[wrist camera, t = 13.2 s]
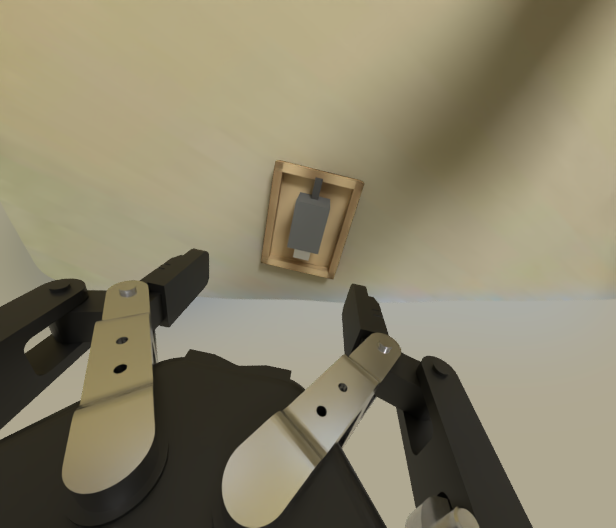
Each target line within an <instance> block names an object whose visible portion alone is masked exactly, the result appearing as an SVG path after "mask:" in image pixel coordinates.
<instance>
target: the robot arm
mask: <svg viewBox="0 0 616 528" xmlns="http://www.w3.org/2000/svg"><path fill="white" fill-rule="evenodd" d="M208 279H209V254H208V252H207V251H202V250H198V249H191V250H190V251H188V252H187V253H186V254H184V255H180V256H177V257H174V258H171V259H170V260H168V261H167V262H165V263H164V264H163V265H161V266H160V267H159V268H157V269H155V270H154V271H153V272H151V273H150V274H148V275H147V276H146V277H144V278H143V279H141V280H140V281H136V280H131V281H124V282H120V283H117V284H115V285H113V286H111V287H110V288H109V289H108V290H107V291H97V290H87V289H86V286H85V283H84V282H83V281H81V280H78V279H60V280H55V281H51V282H48V283H46V284H43V285H41V286H39V287H37V288H35V289H34V290H32V291H30V292H28V293H26V294H24V295H22V296H20V297H18V298H16V299H14V300H12V301H11V302H9V303H7V304H5V305H3V306H1V307H0V429H1V428H3V427H4V426H5V425H6V424H7V423H8V422H9V421H10V420H11V419H12V418H13V417H15V416H16V415H17V414H18V413H19V412H20V411H21V410H22V409H23V408H24V407H25V406H27V405H28V404H29V403H30V402H31V401H32V400H33V399H34V398H35V397H37V396H38V395H39V394H40V393H41V392H42V391H43V390H44V389H45V388H46V387H47V386H49V385H50V384H51V383H52V382H53V381H54V380H55V379H56V378H57V377H59V376H60V375H61V374H62V373H63V372H64V371H65V370H66V369H67V368H68V367H69V366H71V365H72V364H73V363H74V362H75V361H76V360H77V359H78V358H79V357H80V356H81V355H82V354H84V353H85V352H86V351H87V350H88V349H89V348H90V347H91V348H90V353H89V359H88V365H87V370H86V375H85V380H84V386H83V391H82V396H81V400H80V401H78V402H76V403H74V404H72V405H70V406H68V407H66V408H64V409H62V410H60V411H58V412H56V413H54V414H52V415H50V416H48V417H46V418H43V419H41V420H40V421H38V422H35V423H34V424H31V425H29V426H27V427H25V428H23V429H21V430H19V431H17V432H15V433H13V434H11V435H9V436H7V437H5V438H3V439H1V440H0V528H387V527H386V525H385V524H384V522H383V520H382V519H381V517H380V515H379V513H378V511H377V510H376V508H375V506H374V504H373V503H372V501H371V499H370V497H369V496H368V494H367V492H366V490H365V489H364V487H363V485H362V483H361V482H360V480H359V478H358V476H357V474H356V473H355V471H354V469H353V467H352V466H351V464H350V462H349V461H348V459H347V457H346V455H345V453H344V452H343V450H342V448H343V447H344V445H345V444H346V442H347V441H348V439H349V438H350V436H351V435H352V433H353V431H354V430H355V428H356V427H357V425H358V424H359V422H360V421H361V419H362V418H363V416H364V415H365V413H366V412H367V410H368V409H369V408H370V406H371V405H372V403H373V402H374V400H375V399H376V397H379V398H380V399H383V400H384V401H386V402H388V403H390V404H392V405H393V406H395V407H396V409H397V414H398V419H399V424H400V429H401V434H402V440H403V445H404V450H405V455H406V460H407V465H408V470H409V475H410V481H411V485H412V491H413V496H414V501H415V506H416V509H415V510H414V511H413V512H412V513H411V514H410V515H409V516H408V518H407V521H406V525H405V528H533V527H532V525H531V523H530V521H529V519H528V517H527V515H526V513H525V511H524V509H523V507H522V505H521V503H520V501H519V499H518V497H517V495H516V493H515V491H514V489H513V487H512V485H511V483H510V481H509V479H508V477H507V475H506V473H505V471H504V469H503V467H502V465H501V463H500V460H499V458H498V456H497V454H496V453H495V450H494V448H493V446H492V445H491V442H490V440H489V438H488V436H487V434H486V432H485V430H484V428H483V426H482V424H481V422H480V420H479V418H478V416H477V414H476V412H475V410H474V408H473V406H472V404H471V402H470V400H469V398H468V396H467V394H466V392H465V390H464V388H463V386H462V384H461V382H460V380H459V378H458V376H457V374H456V372H455V371H454V370H453V369H452V367H451V366H450V365H448V364H447V363H446V362H444V361H443V360H441V359H439V358H437V357H433V356H426V357H424V358H423V359H422V361H421V362H420V361H418V360H415V359H413V358H411V357H409V356H407V355H405V354H403V353H402V352H401V348H400V346H399V344H398V343H397V342H396V341H395V340H394V339H393V338H391V337H390V336H389V335H388V332H387V328H386V325H385V322H384V319H383V315H382V312H381V309H380V306H379V303H378V302H377V301H376V300H375V299H374V297H370V296H368V293H367V289H366V287H365V286H361V285H356V284H352V285H351V287H350V289H349V292H348V295H347V298H346V301H345V304H344V307H343V312H342V322H343V337H344V351H345V354H344V355H342V356H341V357H340V358H339V359H338V360H337V361H336V362H335V363H334V364H333V365H332V366H331V367H329V368H328V369H327V370H326V371H325V372H324V373H323V374H322V375H321V376H320V377H319V378H318V379H317V380H316V381H315V382H314V383H312V384H311V385H310V386H309V387H308V388H307V389H306V390H305V389H304V388H303V387H302V386H301V385H299V384H298V383H296V382H295V381H293V380H291V379H290V376H291V371H290V370H286V369H281V368H276V367H271V366H266V365H265V366H238V365H235V364H233V363H231V362H229V361H227V360H225V359H223V358H221V357H219V356H217V355H215V354H210V353H205V352H201V351H196V350H191V349H190V350H189V351H188V353H187V354H186V356H185V357H180V358H173V359H168V360H164V361H161V362H158V358H157V347H156V334H155V329H156V328H157V327H158V326H159V325H160V326H164V327H170V326H171V325H172V324H173V323H174V321H175V320H176V319H177V318H178V317H179V316H180V315H181V313H182V312H183V311H184V310H185V309H186V308H187V307H188V306H189V304H190V303H191V302H192V301H193V300H194V299H195V298H196V297H197V296H198V294H199V293H200V292H201V291H202V290H203V289H204V288H205V286H206V285H207V283H208ZM48 326H49V328H50V330H51V333H52V334H51V335H50V336H48V337H47V338H46V339H44V340H43V341H42V342H40V343H39V344H37V345H36V346H35V347H34V348H32V349H31V350H29V351H28V352H27V353H25V354H24V347H25V345H26V343H27V342H28V341H29V339H31V338H32V337H33V336H35V335H36V334H38V333H39V332H40V331H42V330H43V329H45V328H46V327H48Z"/></svg>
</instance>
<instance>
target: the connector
mask: <svg viewBox="0 0 616 528" xmlns="http://www.w3.org/2000/svg"><path fill="white" fill-rule="evenodd" d="M322 182H323V179H321V178H317V177H316V178H315V182H314V187H313V191H312V195H311V194H307V193H303V192H300V194H299V196H298V198H297V200H296V203H295V208H294V214H293V219H292V224H291V229H290V235H289V240H288V245H287V247H288V248H293V249H295V250H294V254H293V257H294V258H299V259H303V260H307V261H309V257H310V253H314V254H318V252H319V249H320V245H321V241H322V238H323V234H324V230H325V227H326V223H327V219H328V216H329V212H330V199H327V198H323V197H319V194H320V190H321V186H322Z"/></svg>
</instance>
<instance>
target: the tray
mask: <svg viewBox="0 0 616 528" xmlns="http://www.w3.org/2000/svg"><path fill="white" fill-rule="evenodd" d="M316 177H317V178H321V179H323V182H322V186H321V190H320V194H319V197H323V198H327V199H330V212H329V216H328V219H327V223H326V227H325V230H324V234H323V238H322V241H321V245H320V249H319V252H318V254H314V253H310V257H309V261H307V260H303V259H299V258H294V257H293V254H294V250H295V249H293V248H288V247H287V245H288V240H289V235H290V229H291V224H292V219H293V214H294V208H295V203H296V200H297V198H298V196H299V194H300V192H303V193H307V194H311V195H312V191H313V187H314V182H315V178H316ZM363 186H364V182H363V181H361V180H357V179H353V178H349V177H345V176H341V175H337V174H333V173H329V172H325V171H321V170H317V169H313V168H309V167H305V166H301V165H297V164H293V163H289V162H285V161H281V160H277V161H275V167H274V174H273V181H272V188H271V195H270V202H269V209H268V216H267V223H266V230H265V237H264V244H263V251H262V258H261V263H265V264H269V265H273V266H278V267H282V268H286V269H291V270H295V271H299V272H303V273H308V274H312V275H316V276H321V277H325V278H329V279H334V276H335V273H336V269H337V266H338V263H339V260H340V257H341V254H342V251H343V248H344V245H345V242H346V239H347V236H348V232H349V229H350V226H351V223H352V220H353V217H354V214H355V211H356V208H357V205H358V202H359V198H360V195H361V192H362V189H363Z"/></svg>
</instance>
